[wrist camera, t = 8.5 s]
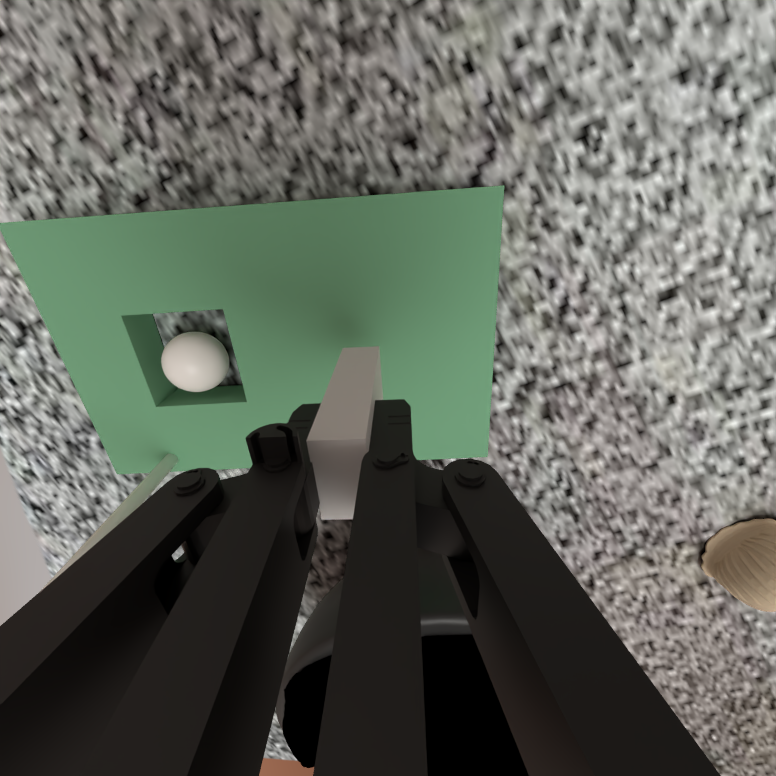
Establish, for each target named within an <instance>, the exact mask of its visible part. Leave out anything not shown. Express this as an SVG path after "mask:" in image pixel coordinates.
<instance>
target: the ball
mask: <svg viewBox="0 0 776 776" xmlns="http://www.w3.org/2000/svg"><path fill="white" fill-rule="evenodd" d="M161 364H162V369H163V372H164V374H165V375H166V377H167V378H168V380H169V381H170V382H171V383H172V384H174V385H175V386H177V387H178V388H180V389H183V390H186V391H190V392H203V391H207V390H210V389H212V388H214V387H216V386H217V385H219V384H220V383H221V382H222V381H223V380H224V378H225V377H226V375H227V373H228V369H229V356H228V353H227V351H226V349H225V347H224V346H223V344H222V343H221V342H220V341H219V340H217V339H216V338H215V337H213V336H211V335H209V334H206V333H203V332H186V333H182V334H180V335H178V336H176V337H174V338H173V339H172V340H170V341H169V342H168V344H167V345H166V346H165V348H164V350H163V353H162V357H161Z"/></svg>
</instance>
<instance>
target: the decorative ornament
mask: <svg viewBox="0 0 776 776" xmlns="http://www.w3.org/2000/svg"><path fill="white" fill-rule="evenodd" d="M702 559H703V563H702V565H701V568H702V569H703V570H704V572H705V574H706V575H707V576H710V577H714V578H715V579H716V580H717V582H718V583H719V584H721V585H722V586H723V587H724V588H725V589H727V590H728V591H729V592H730V593H731V594H732V595H733V596H734V597H736V598H737V599H739V600H741V601H742V602H744V603H745V604H747V605H749V606H751V607H753V608H755V609H758V610H761V611H766V612H775V611H776V520H773V519H769V518H766V519H753V520H751V521H747V522H738V523H736V524H734V525H732V526H728V527H725V528H722V529H721V530H719V531H718V532H717V533H716V534H715V535H714V536H713V537H711V538H710V539H709V540H708V541H707V543H706V545H705V553H704V554H703V555H702Z"/></svg>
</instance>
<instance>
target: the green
mask: <svg viewBox="0 0 776 776" xmlns="http://www.w3.org/2000/svg"><path fill="white" fill-rule="evenodd" d="M503 198H504V186H491V187H477V188H464V189H450V190H437V191H423V192H410V193H397V194H383V195H370V196H356V197H343V198H330V199H316V200H303V201H289V202H276V203H263V204H249V205H236V206H222V207H209V208H196V209H182V210H169V211H155V212H142V213H128V214H115V215H102V216H88V217H75V218H61V219H48V220H35V221H21V222H8V223H0V230H1V232H2V234H3V236H4V239H5V241H6V243H7V245H8V247H9V249H10V251H11V253H12V255H13V257H14V259H15V262H16V264H17V266H18V268H19V270H20V272H21V274H22V276H23V278H24V280H25V282H26V285H27V287H28V289H29V291H30V293H31V295H32V297H33V299H34V301H35V303H36V306H37V308H38V310H39V312H40V314H41V316H42V318H43V320H44V322H45V324H46V326H47V329H48V331H49V333H50V335H51V337H52V339H53V341H54V343H55V345H56V347H57V349H58V352H59V354H60V356H61V358H62V360H63V362H64V364H65V366H66V368H67V370H68V372H69V375H70V377H71V379H72V381H73V383H74V385H75V387H76V389H77V391H78V393H79V396H80V398H81V400H82V402H83V404H84V406H85V408H86V410H87V412H88V414H89V416H90V419H91V421H92V423H93V425H94V427H95V429H96V431H97V433H98V435H99V437H100V439H101V442H102V444H103V446H104V448H105V450H106V452H107V454H108V456H109V458H110V460H111V462H112V465H113V467H114V469H115V471H116V473H117V474H132V473H149V474H148V476H147V477H146V478H145V479H144V480H143V481H142V482H141V483H140V484H139V485H138V486H137V487H136V488H135V490H134V491H133V492H132V493H131V494H130V495H129V496H128V497H127V498H126V499H125V500H124V501H123V502H122V504H121V505H120V506H119V507H118V508H117V509H116V510H115V511H114V512H113V513H112V514H111V515H110V517H109V518H108V519H107V520H106V521H105V522H104V523H103V524H102V525H101V526H100V527H99V528H98V529H97V531H96V532H95V533H94V534H93V535H92V536H91V537H90V538H89V539H88V540H87V541H86V542H85V543H84V545H83V546H82V547H81V548H80V549H79V550H78V551H77V552H76V553H75V554H74V555H73V556H72V558H71V559H70V560H69V561H68V562H67V563H66V564H65V565H64V566H63V567H62V568H61V569H60V570H59V572H58V573H57V574H56V575H55V576H54V577H53V578H52V579H51V580H50V581H49V582H48V583H47V584H46V586H47V585H49V584H50V583H51V582H52V581H53V580H54V579H56V578H57V577H58V576H59V575H60V574H61V573H63V572H64V571H65V570H66V569H67V568H68V567H70V566H71V565H72V564H73V563H74V562H75V561H76V560H78V559H79V558H80V557H81V556H82V555H83V554H85V553H86V552H87V551H88V550H89V549H90V548H92V547H93V546H94V545H95V544H96V543H97V542H99V541H100V540H101V539H102V538H103V537H104V536H106V535H107V534H108V533H109V532H110V531H111V530H112V529H114V528H115V527H116V526H117V525H118V524H119V523H121V522H122V521H123V520H124V519H125V518H126V517H128V516H129V515H130V514H131V513H132V512H133V511H135V510H136V509H137V508H138V507H139V506H140V505H141V504H142V503H143V502H144V501H145V500H146V499H147V497H148V496H149V495H150V494H151V493H152V492H153V490H154V489H155V488H156V487H157V486H158V485H159V483H160V482H161V481H162V480H163V479H164V478H165V476H166V475H167V474H168V473H169V472H174V471H188V470H191V469H196V468H210V469H213V470H217V469H238V468H251V466H252V465H253V464H252V460H251V457H250V453H249V450H248V446H247V442H246V439H245V438H246V437H247V436H248V435H249V434H250V433H251V432H252V431H254V430H256V429H257V428H259V427H262V426H265V425H268V424H274V423H287V422H289V421H288V420H289V418H290V417H291V415H292V413H293V411H295V410H296V409H297V408H298V407H300V406H301V405H302V404H315V403H321V402H322V400H323V397H324V395H325V392H326V390H327V387H328V384H329V382H330V379H331V377H332V374H333V372H334V369H335V367H336V364H337V362H338V359H339V356H340V354H341V351H342V349H343V348H352V347H374V346H379V350H380V363H381V377H382V390H383V400H394V399H405V401H406V402H407V403H408V404H409V405H410V406H411V424H412V444H413V453H414V456H415V458H416V459H417V460H429V459H451V458H472V457H487V456H488V440H489V424H490V408H491V392H492V375H493V359H494V343H495V327H496V311H497V295H498V278H499V262H500V246H501V230H502V214H503ZM217 309H223V311H224V315H225V319H226V323H227V327H228V330H229V334H230V338H231V342H232V346H233V350H234V353H235V357H236V361H237V365H238V369H239V373H240V376H241V380H242V384H243V385H235V386H217V387H214V388H212V389H210V390H207V391H203V392H190V391H186V390H183V389H178V387H177V386H175V385H174V384H172V383H171V382H170V381H169V380H168V378H167V377H166V375H165V374H164V372H163V369H162V364H161V357H162V353H163V350H164V346H163V344H162V341H161V338H160V335H159V332H158V329H157V326H156V323H155V320H154V317H153V315H152V314H155V313H170V312H186V311H202V310H217ZM46 586H45V587H46ZM45 587H44V588H45ZM44 588H43V589H44ZM43 589H42V590H43ZM42 590H41V591H42ZM41 591H40V592H41Z"/></svg>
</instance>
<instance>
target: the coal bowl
mask: <svg viewBox="0 0 776 776" xmlns="http://www.w3.org/2000/svg"><path fill="white" fill-rule="evenodd" d="M417 550H418V573H419V595H420V618H421V640H422V663H423V685H424V707H425V730H426V752H427V775H428V776H529V774H528V772H527V769H526V767H525V764H524V762H523V759H522V757H521V754H520V752H519V749H518V747H517V744H516V742H515V739H514V737H513V734H512V732H511V729H510V727H509V724H508V722H507V719H506V717H505V714H504V712H503V709H502V707H501V704H500V702H499V699H498V697H497V694H496V692H495V689H494V687H493V684H492V682H491V679H490V677H489V674H488V672H487V669H486V667H485V664H484V662H483V659H482V657H481V654H480V652H479V649H478V647H477V644H476V642H475V639H474V637H473V634H472V632H471V629H470V627H469V624H468V621H467V619H466V616H465V614H464V611H463V609H462V606H461V604H460V601H459V599H458V596H457V594H456V591H455V589H454V586H453V584H452V581H451V579H450V576H449V574H448V571H447V569H446V566H445V564H444V561H443V558H442V554H439V553H435V552H432V551H428V550H425V549H421V548H418V547H417ZM343 579H344V578H343ZM343 579H342V580H340V581H339V582H338V583H337V584H336V585H335V586H334V587H333V588H332V589H331V590H330V591H329V593H328V594H327V595H326V596H325V597H324V598H323V599H322V601H321V602H320V603H319V604H318V606H317V607H316V608H315V610H314V611H313V613H312V614H311V616H310V617H309V619H308V620H307V622H306V623H305V625H304V627H303V628H302V630H301V632H300V634H299V636H298V638H297V640H296V642H295V644H294V646H293V648H292V650H291V652H290V654H289V657H288V659H287V662H286V666H285V671H284V675H283V679H282V683H281V687H280V691H279V695H278V699H277V703H276V714H277V718H278V722H279V724H280V726H281V728H282V730H283V735H284V737H285V740H286V742H287V744H288V747H289V748H290V749H291V751H292V753H293V755H294V756H295V758H296V759H297V760H298V761H299V762H301V765H302V766H303V767H307V768H311V767H314V766H315V761H316V754H317V748H318V741H319V735H320V728H321V722H322V715H323V709H324V702H325V696H326V689H327V683H328V676H329V670H330V664H331V657H332V651H333V644H334V638H335V631H336V625H337V618H338V612H339V605H340V599H341V592H342V586H343Z"/></svg>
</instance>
